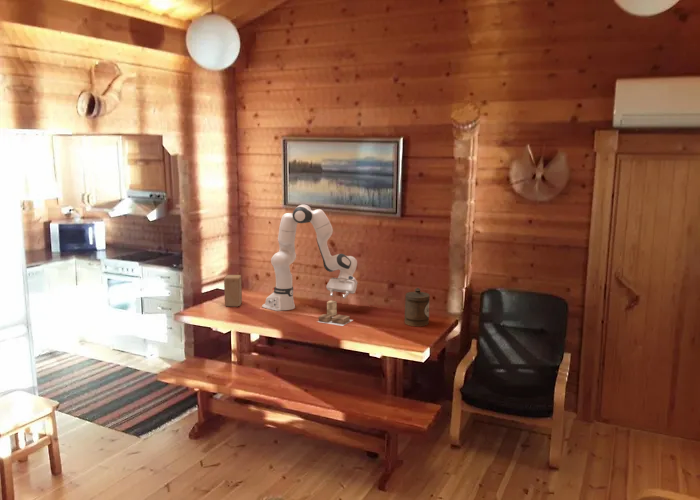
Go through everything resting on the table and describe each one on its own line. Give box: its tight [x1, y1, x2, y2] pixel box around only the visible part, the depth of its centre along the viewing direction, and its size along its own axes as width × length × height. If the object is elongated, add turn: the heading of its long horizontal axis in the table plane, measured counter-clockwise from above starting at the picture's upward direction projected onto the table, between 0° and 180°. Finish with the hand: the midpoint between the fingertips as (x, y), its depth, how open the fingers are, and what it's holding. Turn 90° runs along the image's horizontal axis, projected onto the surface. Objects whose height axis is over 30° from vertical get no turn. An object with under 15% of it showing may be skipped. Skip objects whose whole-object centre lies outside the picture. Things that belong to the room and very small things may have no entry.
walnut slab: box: [332, 313, 351, 325], centre depth 363 cm, size 8×8×3 cm
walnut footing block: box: [318, 313, 333, 323], centre depth 365 cm, size 6×6×3 cm
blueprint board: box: [316, 319, 354, 327], centre depth 365 cm, size 18×14×1 cm
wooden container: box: [404, 287, 431, 327], centre depth 364 cm, size 15×15×22 cm
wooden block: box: [223, 274, 243, 308], centre depth 402 cm, size 10×10×20 cm
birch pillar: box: [326, 300, 338, 317], centre depth 377 cm, size 4×4×10 cm
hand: (337, 296), depth 382 cm, fingers open, 8 cm apart
